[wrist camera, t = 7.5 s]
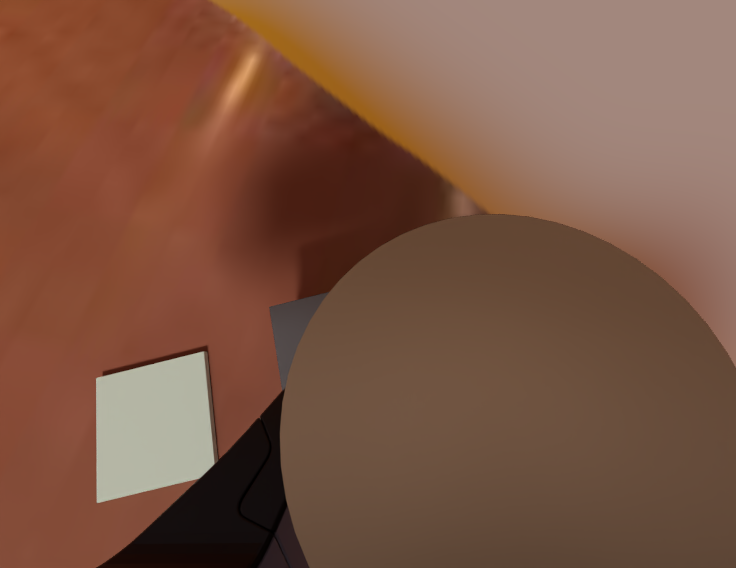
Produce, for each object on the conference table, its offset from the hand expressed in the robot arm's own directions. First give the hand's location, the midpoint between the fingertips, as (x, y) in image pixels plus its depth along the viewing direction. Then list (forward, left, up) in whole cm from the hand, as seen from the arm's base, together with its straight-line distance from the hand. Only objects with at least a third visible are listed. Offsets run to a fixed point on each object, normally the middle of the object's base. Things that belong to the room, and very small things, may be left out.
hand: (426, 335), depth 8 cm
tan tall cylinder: (-1, 0, -6) cm, 6 cm away
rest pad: (0, +16, -12) cm, 20 cm away
